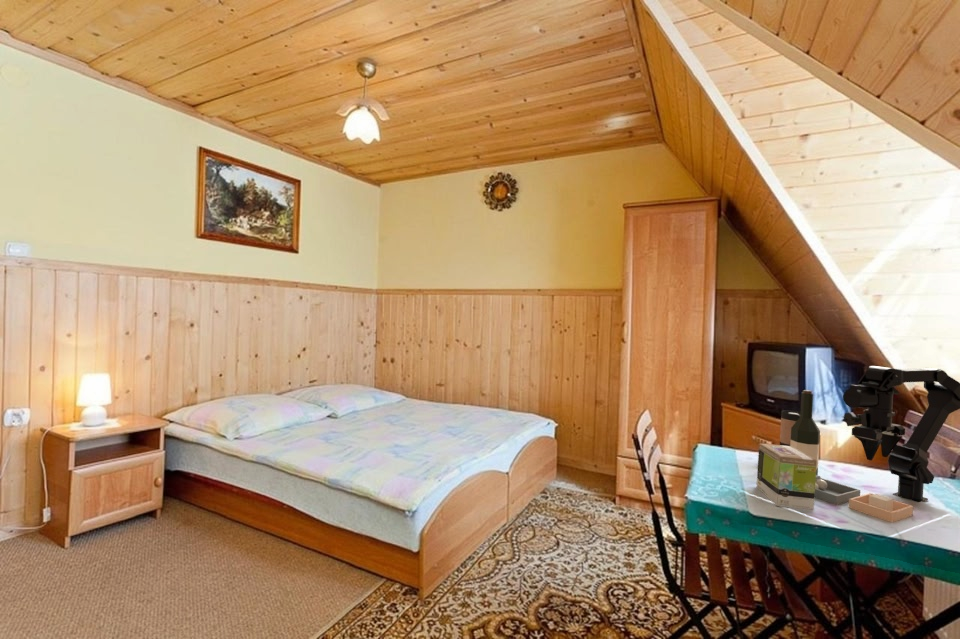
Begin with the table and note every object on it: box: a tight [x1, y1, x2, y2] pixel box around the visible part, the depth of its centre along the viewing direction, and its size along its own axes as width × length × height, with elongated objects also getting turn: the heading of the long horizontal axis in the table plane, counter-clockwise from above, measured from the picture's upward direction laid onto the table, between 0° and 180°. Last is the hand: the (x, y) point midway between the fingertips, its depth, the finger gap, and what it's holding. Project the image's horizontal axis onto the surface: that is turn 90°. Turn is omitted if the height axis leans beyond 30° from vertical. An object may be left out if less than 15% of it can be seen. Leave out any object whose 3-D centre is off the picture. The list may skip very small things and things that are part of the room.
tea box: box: [756, 443, 817, 510], centre depth 139 cm, size 15×10×15 cm, turn 170°
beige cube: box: [869, 493, 894, 512], centre depth 131 cm, size 4×4×4 cm
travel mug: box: [779, 409, 801, 446], centre depth 171 cm, size 8×8×20 cm
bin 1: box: [814, 475, 861, 505], centre depth 147 cm, size 13×22×4 cm, turn 27°
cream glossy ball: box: [815, 479, 827, 490], centre depth 146 cm, size 3×3×3 cm
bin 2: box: [848, 492, 914, 523], centre depth 131 cm, size 12×10×3 cm
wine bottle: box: [790, 389, 821, 476], centre depth 159 cm, size 8×8×30 cm
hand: (877, 458), depth 141 cm, fingers open, 9 cm apart
